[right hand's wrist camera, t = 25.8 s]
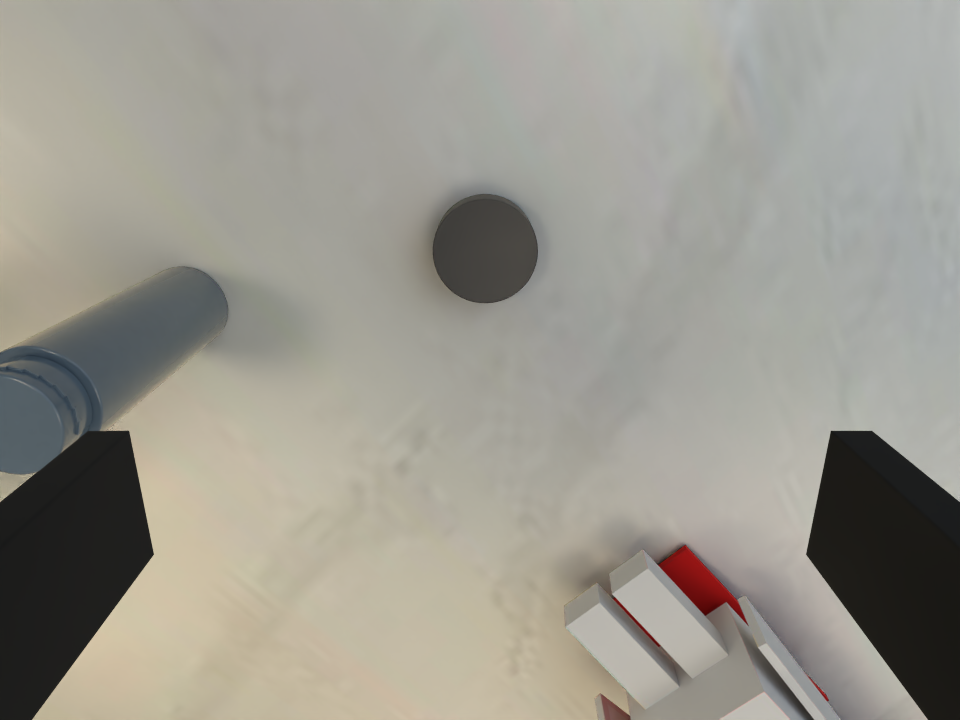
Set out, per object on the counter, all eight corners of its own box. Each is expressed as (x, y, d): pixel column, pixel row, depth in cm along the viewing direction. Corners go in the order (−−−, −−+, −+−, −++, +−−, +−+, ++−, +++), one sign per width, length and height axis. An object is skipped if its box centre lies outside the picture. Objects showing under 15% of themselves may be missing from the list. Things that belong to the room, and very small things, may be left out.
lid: (438, 294, 39) (435, 304, 37) (432, 195, 37) (429, 200, 35) (534, 291, 39) (537, 302, 37) (534, 192, 37) (537, 197, 35)
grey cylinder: (220, 264, 38) (54, 362, 23) (234, 342, 40) (87, 481, 25) (138, 268, 38) (-80, 367, 23) (155, 346, 40) (-38, 485, 25)
